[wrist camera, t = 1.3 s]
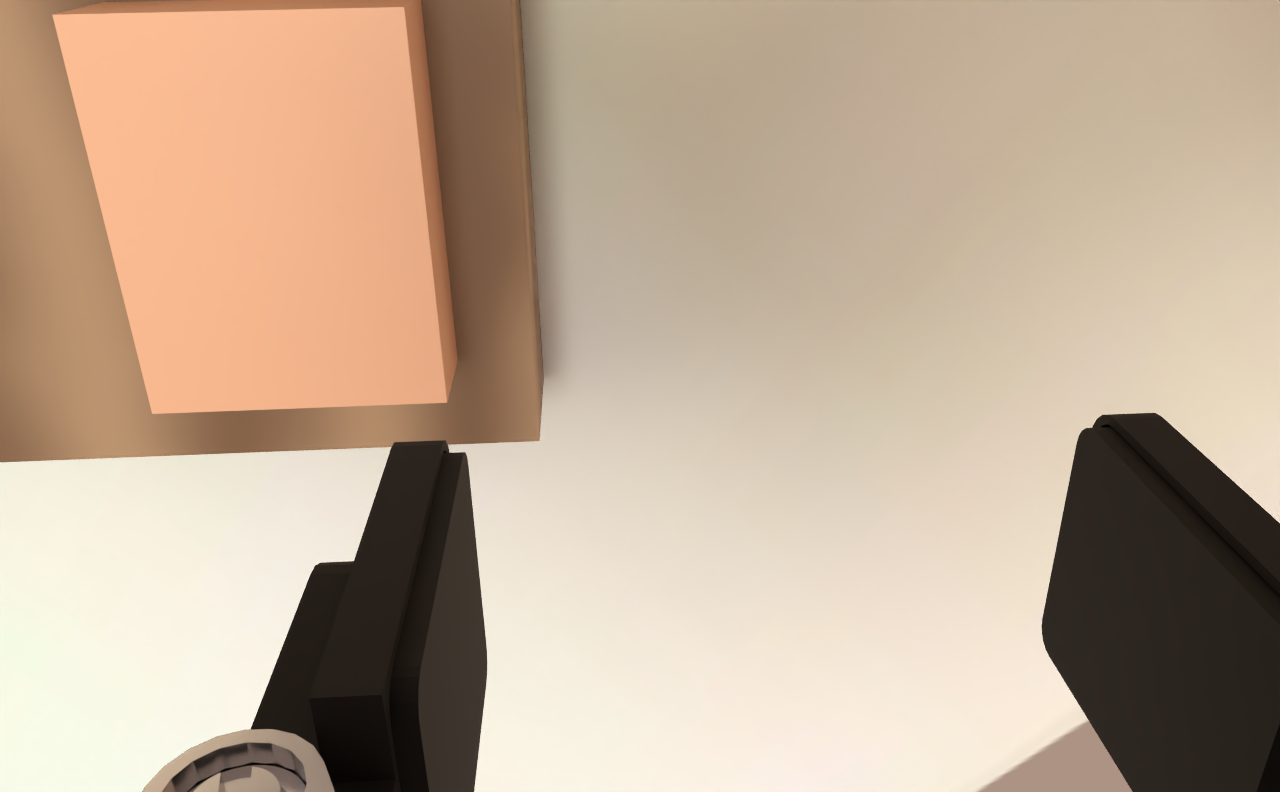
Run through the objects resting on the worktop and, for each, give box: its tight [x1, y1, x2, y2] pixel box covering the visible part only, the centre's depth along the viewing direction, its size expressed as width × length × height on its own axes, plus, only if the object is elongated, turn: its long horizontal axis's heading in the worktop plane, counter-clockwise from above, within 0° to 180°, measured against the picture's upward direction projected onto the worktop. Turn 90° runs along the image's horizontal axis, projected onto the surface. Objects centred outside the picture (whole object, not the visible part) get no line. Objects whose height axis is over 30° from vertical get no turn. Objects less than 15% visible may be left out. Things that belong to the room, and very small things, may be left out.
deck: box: [0, 0, 543, 462], centre depth 27 cm, size 16×14×4 cm
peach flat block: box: [53, 0, 458, 414], centre depth 24 cm, size 7×9×2 cm
